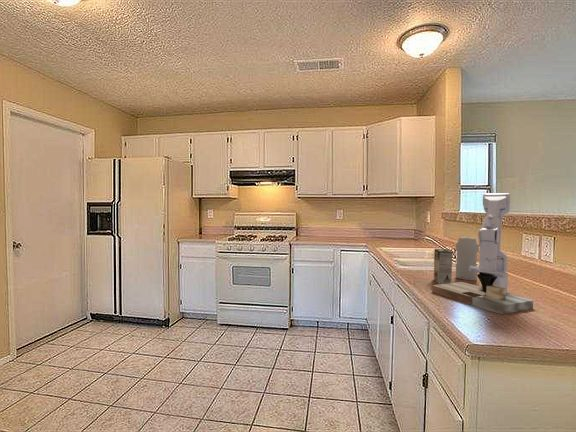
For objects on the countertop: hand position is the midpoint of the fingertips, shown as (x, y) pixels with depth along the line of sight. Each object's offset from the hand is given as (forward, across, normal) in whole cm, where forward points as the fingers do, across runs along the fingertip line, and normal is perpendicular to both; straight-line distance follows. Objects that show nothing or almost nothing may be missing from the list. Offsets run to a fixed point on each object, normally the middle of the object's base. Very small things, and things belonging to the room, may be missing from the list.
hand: (486, 292), depth 123 cm
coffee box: (+4, -30, +11) cm, 33 cm away
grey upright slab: (+4, -30, +28) cm, 41 cm away
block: (+1, +4, 0) cm, 4 cm away
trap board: (+4, -3, 0) cm, 5 cm away
